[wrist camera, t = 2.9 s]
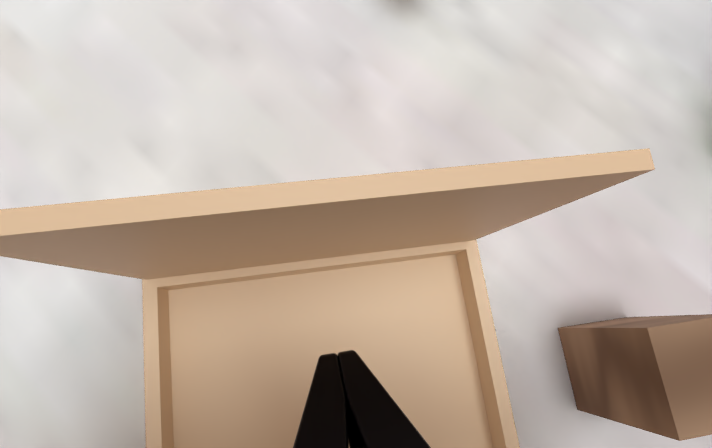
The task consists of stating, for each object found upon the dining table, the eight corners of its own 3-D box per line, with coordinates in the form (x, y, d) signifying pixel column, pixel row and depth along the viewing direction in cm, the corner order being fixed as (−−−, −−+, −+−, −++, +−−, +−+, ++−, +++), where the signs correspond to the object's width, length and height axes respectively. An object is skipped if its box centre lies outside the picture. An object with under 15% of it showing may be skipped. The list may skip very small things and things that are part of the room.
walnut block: (648, 396, 21) (773, 421, 16) (577, 409, 21) (679, 440, 15) (626, 317, 22) (737, 313, 17) (557, 327, 22) (647, 327, 16)
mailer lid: (655, 169, 10) (648, 145, 10) (-76, 243, 7) (-75, 213, 8) (473, 240, 20) (471, 228, 20) (146, 279, 18) (145, 266, 18)
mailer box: (511, 493, 20) (532, 511, 18) (167, 565, 17) (149, 595, 15) (461, 243, 22) (475, 235, 20) (158, 280, 20) (142, 275, 18)
